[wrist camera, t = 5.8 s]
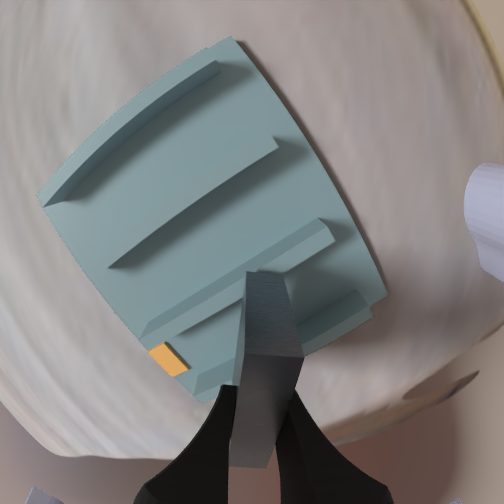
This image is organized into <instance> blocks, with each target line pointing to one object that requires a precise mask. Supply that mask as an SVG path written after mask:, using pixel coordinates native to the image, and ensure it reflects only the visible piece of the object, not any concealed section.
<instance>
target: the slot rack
mask: <svg viewBox="0 0 504 504" xmlns="http://www.w3.org/2000/svg"><path fill="white" fill-rule="evenodd" d="M36 197H37V199H38V200H39V202H40V204H41V206H42V208H43V209H44V211H45V212H46V214H47V216H48V217H49V219H50V221H51V222H52V224H53V226H54V227H55V229H56V231H57V232H58V234H59V235H60V237H61V239H62V240H63V242H64V243H65V245H66V246H67V248H68V249H69V251H70V252H71V254H72V255H73V257H74V258H75V260H76V261H77V263H78V264H79V266H80V267H81V268H82V270H83V272H84V273H85V274H86V276H87V277H88V279H89V280H90V281H91V282H92V284H93V285H94V286H95V288H96V289H97V290H98V292H99V293H100V294H101V295H102V297H103V298H104V299H105V301H106V302H107V303H108V304H109V306H110V307H111V308H112V309H113V311H114V312H115V313H116V314H117V315H118V317H119V318H120V319H121V320H122V321H123V323H124V324H125V325H126V326H127V327H128V329H129V330H130V331H131V332H132V333H133V334H134V335H135V337H136V338H137V339H138V340H139V341H140V342H141V344H142V345H143V346H144V347H145V348H146V349H147V350H148V353H149V354H150V355H151V356H152V357H153V358H154V359H155V360H156V361H157V362H158V363H159V364H160V365H161V366H162V368H163V369H164V370H165V371H166V372H167V373H168V374H169V375H170V376H171V377H174V378H175V379H176V380H177V381H178V382H179V383H180V384H181V385H183V386H184V387H185V388H186V389H187V390H188V391H189V392H190V393H191V394H192V395H193V396H194V397H195V398H196V399H197V400H198V401H199V402H201V403H205V402H207V401H210V400H212V399H215V398H217V397H218V394H219V391H220V386H221V385H223V384H226V385H232V378H233V370H234V363H235V355H236V347H237V339H238V332H239V324H240V316H241V309H242V301H243V294H244V286H245V278H246V271H250V272H259V273H268V274H277V275H283V277H284V280H285V284H286V288H287V291H288V295H289V299H290V303H291V307H292V310H293V314H294V318H295V322H296V326H297V330H298V334H299V337H300V341H301V345H302V349H303V353H304V357H305V356H307V355H309V354H311V353H312V352H314V351H316V350H318V349H320V348H322V347H323V346H325V345H327V344H329V343H331V342H332V341H334V340H336V339H338V338H339V337H341V336H343V335H344V334H346V333H348V332H349V331H351V330H353V329H354V328H356V327H358V326H359V325H361V324H363V323H364V322H366V321H367V320H369V319H371V318H372V317H374V315H373V313H372V311H371V309H370V307H371V306H372V305H374V304H375V303H377V302H378V301H380V300H381V299H383V298H384V297H386V296H387V295H388V293H387V290H386V288H385V286H384V283H383V281H382V279H381V277H380V275H379V272H378V270H377V268H376V266H375V264H374V262H373V259H372V257H371V255H370V253H369V251H368V249H367V247H366V245H365V243H364V241H363V239H362V237H361V235H360V233H359V231H358V229H357V227H356V225H355V223H354V221H353V219H352V217H351V215H350V213H349V212H348V210H347V208H346V206H345V204H344V202H343V200H342V199H341V197H340V195H339V193H338V191H337V190H336V188H335V186H334V184H333V183H332V181H331V179H330V177H329V176H328V174H327V172H326V171H325V169H324V167H323V165H322V164H321V162H320V160H319V159H318V157H317V156H316V154H315V152H314V151H313V149H312V147H311V146H310V144H309V143H308V141H307V139H306V138H305V136H304V135H303V133H302V132H301V130H300V129H299V127H298V126H297V124H296V123H295V121H294V120H293V118H292V117H291V115H290V114H289V112H288V111H287V109H286V108H285V106H284V105H283V103H282V102H281V100H280V99H279V98H278V96H277V95H276V93H275V92H274V91H273V89H272V88H271V86H270V85H269V84H268V82H267V81H266V80H265V78H264V77H263V76H262V74H261V73H260V72H259V70H258V69H257V68H256V66H255V65H254V64H253V62H252V61H251V60H250V59H249V57H248V56H247V55H246V54H245V52H244V51H243V50H242V49H241V47H240V46H239V45H238V44H237V42H236V41H235V40H234V39H233V38H232V36H230V37H228V38H226V39H224V40H222V41H220V42H219V43H217V44H215V45H213V46H212V47H210V48H207V47H206V48H205V49H203V50H201V51H200V52H198V53H196V54H195V55H193V56H192V57H190V58H188V59H187V60H185V61H184V62H182V63H181V64H179V65H178V66H176V67H175V68H173V69H172V70H170V71H169V72H167V73H166V74H165V75H163V76H162V77H160V78H159V79H158V80H156V81H155V82H153V83H152V84H151V85H149V86H148V87H147V88H145V89H144V90H143V91H142V92H140V93H139V94H138V95H136V96H135V97H134V98H133V99H132V100H130V101H129V102H128V103H127V104H125V105H124V106H123V107H122V108H121V109H119V110H118V111H117V112H116V113H115V114H114V115H113V116H111V117H110V118H109V119H108V120H107V121H106V122H105V123H104V124H103V125H101V126H100V127H99V128H98V129H97V130H96V131H95V132H94V133H93V134H92V135H91V136H90V137H89V138H88V139H87V140H86V141H85V142H84V143H83V144H82V145H81V146H80V147H79V148H78V149H77V150H76V151H75V152H74V153H73V154H72V155H71V156H70V157H69V158H68V159H67V160H66V161H65V163H64V164H63V165H62V166H61V167H60V168H59V169H58V170H57V171H56V173H55V174H54V175H53V176H52V177H51V178H50V180H49V181H48V182H47V183H46V184H45V186H44V187H43V188H42V189H41V190H40V192H39V193H38V194H37V195H36Z"/></svg>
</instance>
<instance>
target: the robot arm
mask: <svg viewBox="0 0 504 504" xmlns="http://www.w3.org/2000/svg"><path fill="white" fill-rule="evenodd" d="M464 215H465V221H466V224H467V227H468V230H469V232H470V234H471V235H472V237H473V239H474V241H475V243H476V246H477V250H478V254H479V259H480V264H481V268H482V270H484V271H485V272H487V273H489V274H490V275H492V276H494V277H495V278H497V279H499V280H500V281H502V282H503V283H504V164H497V163H489V162H487V163H483V164H481V165H479V166H478V167H477V168H476V169H475V170H474V172H473V173H472V175H471V176H470V179H469V181H468V184H467V187H466V191H465V197H464ZM235 405H236V385H226V384H223V385H221V386H220V391H219V394H218V397H217V399H216V401H215V404H214V406H213V408H212V410H211V411H210V413H209V415H208V417H207V419H206V420H205V422H204V424H203V425H202V427H201V428H200V430H199V431H198V433H197V434H196V435H195V437H194V438H193V439H192V441H191V442H190V443H189V444H188V446H187V447H186V448H185V449H184V450H183V451H182V452H181V453H180V454H179V456H178V457H177V458H176V459H175V460H173V461H172V462H171V463H170V464H169V465H168V466H167V467H166V468H165V469H164V470H162V471H161V472H160V473H159V474H157V475H156V476H155V477H154V478H152V479H151V480H149V481H148V482H146V483H145V484H144V485H143V487H142V488H141V490H140V491H139V493H138V494H137V496H136V498H135V500H134V503H133V504H228V467H229V444H230V438H231V432H232V425H233V419H234V412H235ZM275 445H276V452H277V458H278V465H279V472H280V482H281V483H280V485H281V504H393V503H394V502H393V499H392V497H391V493H390V492H389V490H388V487H387V486H386V485H384V484H382V483H380V482H378V481H377V480H375V479H373V478H371V477H370V476H368V475H367V474H365V473H364V472H362V471H361V470H360V469H358V468H357V467H356V466H355V465H353V464H352V463H351V462H350V461H348V460H347V459H346V458H345V457H344V456H343V455H342V454H341V453H340V452H339V451H338V450H337V449H336V448H335V447H334V446H333V445H332V444H331V443H330V441H329V440H328V439H327V438H326V437H325V435H324V434H323V433H322V432H321V430H320V429H319V427H318V426H317V425H316V423H315V422H314V420H313V419H312V417H311V416H310V414H309V413H308V411H307V409H306V408H305V406H304V404H303V403H302V401H301V399H300V397H299V395H298V393H297V391H296V390H294V393H293V396H292V399H291V402H290V405H289V408H288V411H287V413H286V416H285V419H284V422H283V425H282V428H281V430H280V433H279V436H278V439H277V441H276V444H275ZM25 504H64V503H63V502H61V501H60V500H59V499H57V498H55V497H54V496H52V495H50V494H48V493H46V492H44V491H43V490H41V489H39V488H37V487H35V486H33V487H32V489H31V491H30V494H29V496H28V498H27V500H26V502H25ZM447 504H462V502H461V500H460V498H458V499H456V500H454V501H452V502H450V503H447Z"/></svg>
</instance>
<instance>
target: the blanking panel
mask: <svg viewBox="0 0 504 504" xmlns="http://www.w3.org/2000/svg"><path fill="white" fill-rule="evenodd" d="M304 358H305V357H304V353H303V349H302V345H301V341H300V337H299V334H298V330H297V326H296V322H295V318H294V314H293V310H292V307H291V303H290V299H289V295H288V291H287V288H286V284H285V280H284V277H283V275H277V274H268V273H259V272H250V271H246V278H245V286H244V294H243V301H242V309H241V316H240V324H239V332H238V339H237V347H236V355H235V363H234V370H233V378H232V385H236V405H235V412H234V419H233V425H232V432H231V438H230V444H229V466H234V467H247V468H266V467H267V464H268V462H269V459H270V457H271V454H272V452H273V449H274V447H275V444H276V441H277V439H278V436H279V433H280V430H281V428H282V425H283V422H284V419H285V416H286V413H287V411H288V408H289V405H290V402H291V399H292V396H293V393H294V390H295V387H296V383H297V380H298V377H299V374H300V371H301V368H302V364H303V361H304Z"/></svg>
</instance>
